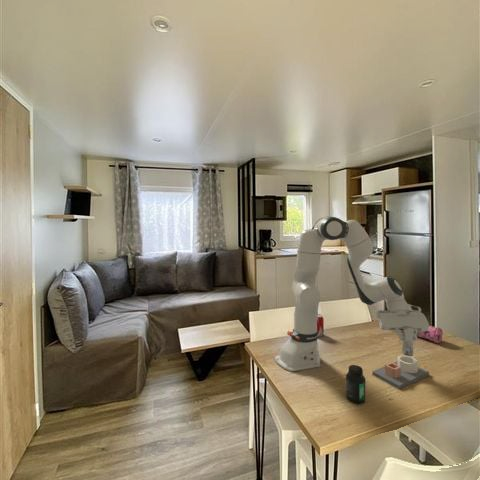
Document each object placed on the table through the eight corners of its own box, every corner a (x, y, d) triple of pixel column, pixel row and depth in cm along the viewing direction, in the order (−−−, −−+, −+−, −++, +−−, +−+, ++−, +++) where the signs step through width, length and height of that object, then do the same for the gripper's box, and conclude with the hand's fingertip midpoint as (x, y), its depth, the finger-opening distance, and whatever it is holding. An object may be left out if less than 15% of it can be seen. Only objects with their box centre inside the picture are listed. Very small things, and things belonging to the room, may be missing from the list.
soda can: (324, 337, 156) (324, 317, 156) (311, 337, 158) (311, 317, 157) (323, 333, 163) (323, 313, 163) (311, 332, 165) (311, 313, 164)
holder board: (399, 389, 107) (399, 375, 107) (372, 374, 118) (372, 362, 117) (428, 375, 117) (429, 362, 116) (401, 362, 127) (401, 351, 127)
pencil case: (396, 332, 162) (396, 318, 161) (404, 329, 167) (405, 315, 166) (437, 346, 143) (437, 330, 143) (445, 342, 148) (445, 326, 148)
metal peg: (409, 357, 116) (410, 330, 116) (400, 353, 120) (400, 327, 119) (415, 354, 118) (415, 328, 117) (406, 351, 122) (406, 325, 121)
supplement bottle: (366, 406, 98) (367, 374, 97) (346, 403, 99) (347, 371, 99) (363, 394, 104) (363, 364, 103) (344, 392, 106) (345, 362, 105)
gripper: (377, 307, 126) (386, 336, 117) (424, 307, 124) (436, 337, 114) (373, 313, 131) (381, 341, 121) (418, 313, 128) (430, 342, 119)
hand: (408, 339), depth 118 cm, fingers closed on metal peg, 4 cm apart
